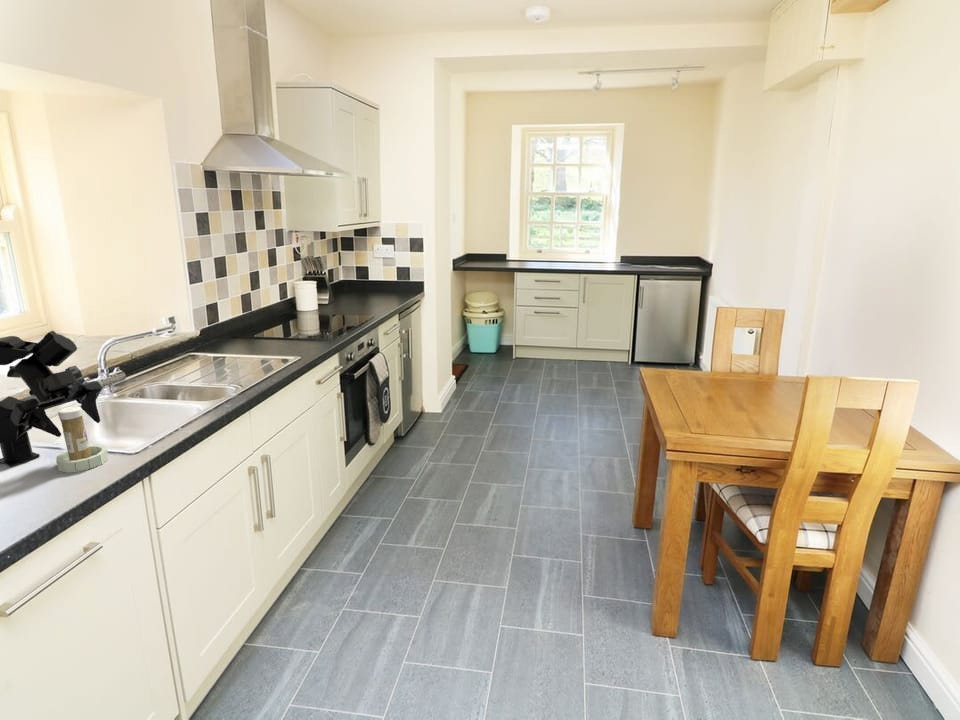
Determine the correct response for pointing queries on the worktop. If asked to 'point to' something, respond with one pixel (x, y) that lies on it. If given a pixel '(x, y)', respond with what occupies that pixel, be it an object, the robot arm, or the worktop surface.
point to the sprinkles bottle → (74, 433)
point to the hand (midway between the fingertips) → (80, 428)
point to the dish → (83, 460)
